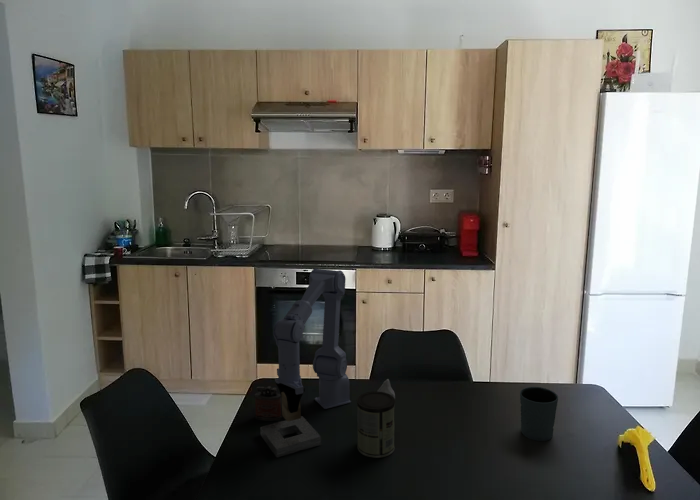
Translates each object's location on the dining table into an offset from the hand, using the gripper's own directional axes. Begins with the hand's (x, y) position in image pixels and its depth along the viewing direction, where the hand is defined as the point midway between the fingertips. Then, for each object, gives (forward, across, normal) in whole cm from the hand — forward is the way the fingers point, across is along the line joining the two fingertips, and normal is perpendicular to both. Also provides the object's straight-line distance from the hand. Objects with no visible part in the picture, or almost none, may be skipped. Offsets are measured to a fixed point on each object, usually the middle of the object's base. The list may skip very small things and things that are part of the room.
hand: (290, 408), depth 146 cm
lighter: (+10, -15, -1) cm, 18 cm away
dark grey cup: (+10, +31, +63) cm, 71 cm away
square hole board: (+9, 0, 0) cm, 9 cm away
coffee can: (+10, +15, +19) cm, 26 cm away
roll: (+10, +1, +31) cm, 32 cm away
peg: (+3, 0, 0) cm, 3 cm away
